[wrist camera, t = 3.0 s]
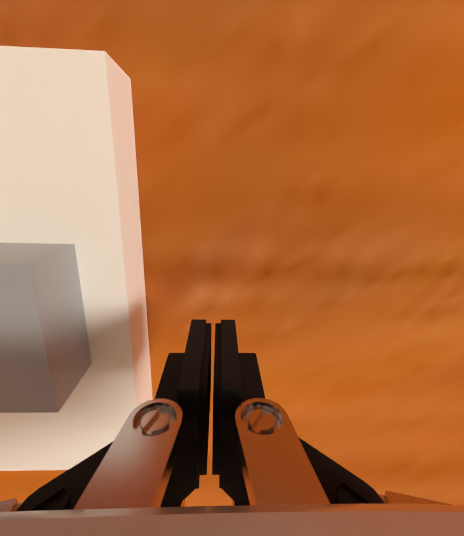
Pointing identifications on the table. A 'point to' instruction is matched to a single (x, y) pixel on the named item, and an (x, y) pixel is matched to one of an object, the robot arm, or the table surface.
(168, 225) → the table surface
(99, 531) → the robot arm
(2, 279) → the grey square block
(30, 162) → the plate
